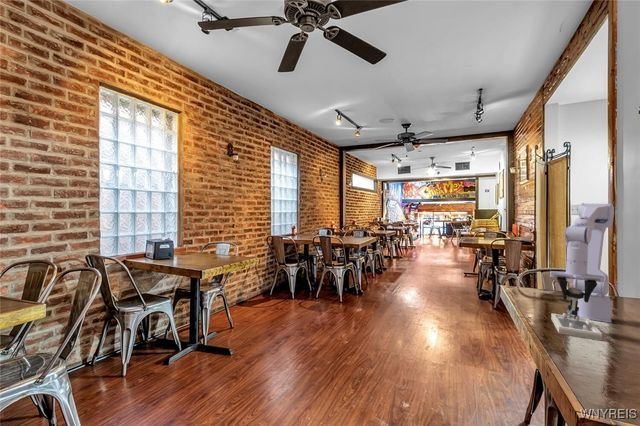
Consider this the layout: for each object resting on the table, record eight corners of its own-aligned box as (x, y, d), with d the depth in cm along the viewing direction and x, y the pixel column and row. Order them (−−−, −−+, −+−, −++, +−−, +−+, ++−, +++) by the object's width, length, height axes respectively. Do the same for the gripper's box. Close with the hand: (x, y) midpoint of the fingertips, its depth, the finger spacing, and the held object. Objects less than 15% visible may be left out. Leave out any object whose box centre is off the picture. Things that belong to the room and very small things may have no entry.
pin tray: (588, 324, 116) (589, 315, 116) (601, 340, 102) (602, 330, 102) (551, 319, 121) (551, 310, 121) (558, 333, 107) (559, 323, 107)
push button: (582, 322, 109) (585, 294, 107) (562, 318, 112) (565, 290, 111) (582, 316, 114) (585, 288, 113) (563, 312, 117) (565, 285, 116)
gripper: (552, 260, 111) (551, 299, 111) (607, 265, 104) (606, 306, 105) (549, 257, 117) (548, 295, 118) (601, 261, 111) (599, 301, 111)
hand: (575, 300), depth 112 cm, fingers closed on push button, 5 cm apart
